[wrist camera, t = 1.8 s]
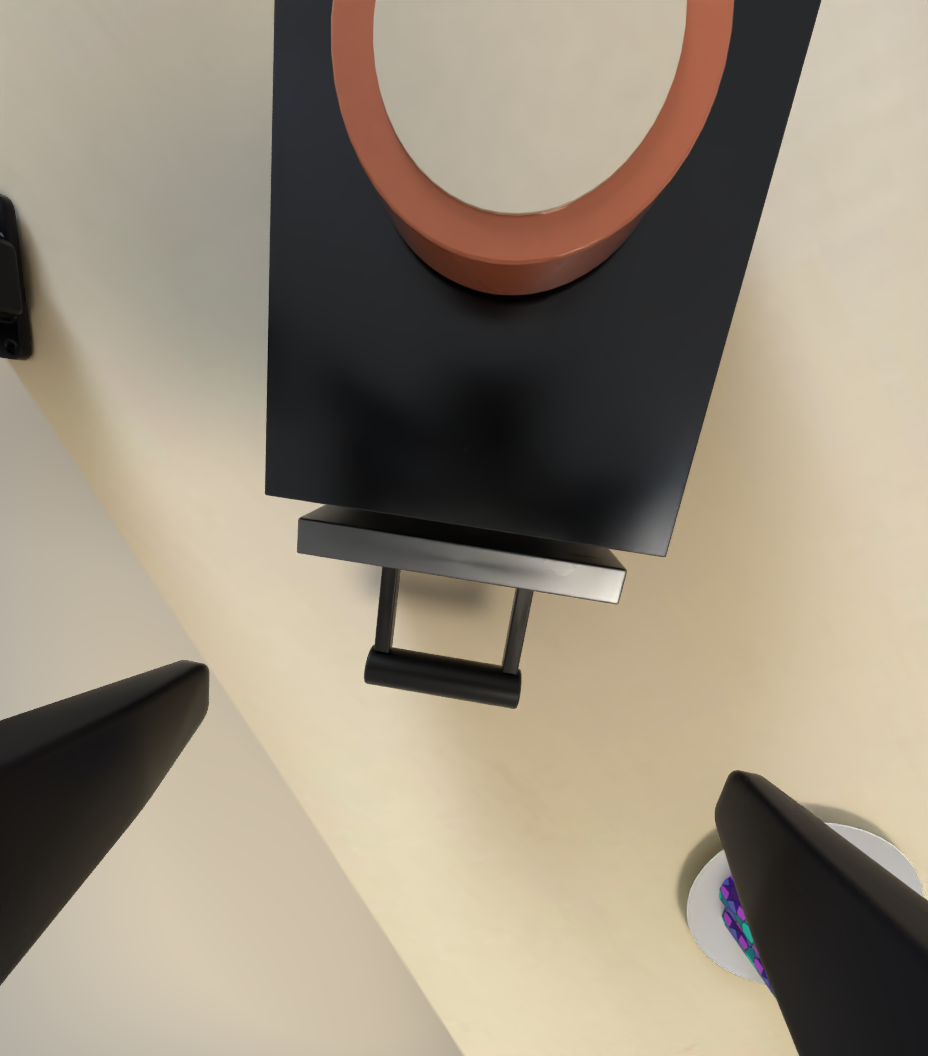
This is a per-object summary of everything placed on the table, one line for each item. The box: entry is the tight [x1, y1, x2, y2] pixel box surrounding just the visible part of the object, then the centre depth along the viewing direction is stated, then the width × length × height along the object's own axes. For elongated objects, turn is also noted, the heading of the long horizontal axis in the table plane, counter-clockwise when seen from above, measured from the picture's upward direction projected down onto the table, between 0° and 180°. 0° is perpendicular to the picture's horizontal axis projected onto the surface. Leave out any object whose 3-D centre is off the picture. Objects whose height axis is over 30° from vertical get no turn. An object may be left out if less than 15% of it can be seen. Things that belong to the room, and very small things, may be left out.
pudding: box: [686, 823, 923, 998], centre depth 21 cm, size 12×12×5 cm
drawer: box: [297, 504, 627, 709], centre depth 15 cm, size 20×10×6 cm, turn 172°
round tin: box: [331, 0, 734, 295], centre depth 8 cm, size 7×7×3 cm
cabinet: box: [265, 0, 821, 557], centre depth 14 cm, size 16×12×8 cm
